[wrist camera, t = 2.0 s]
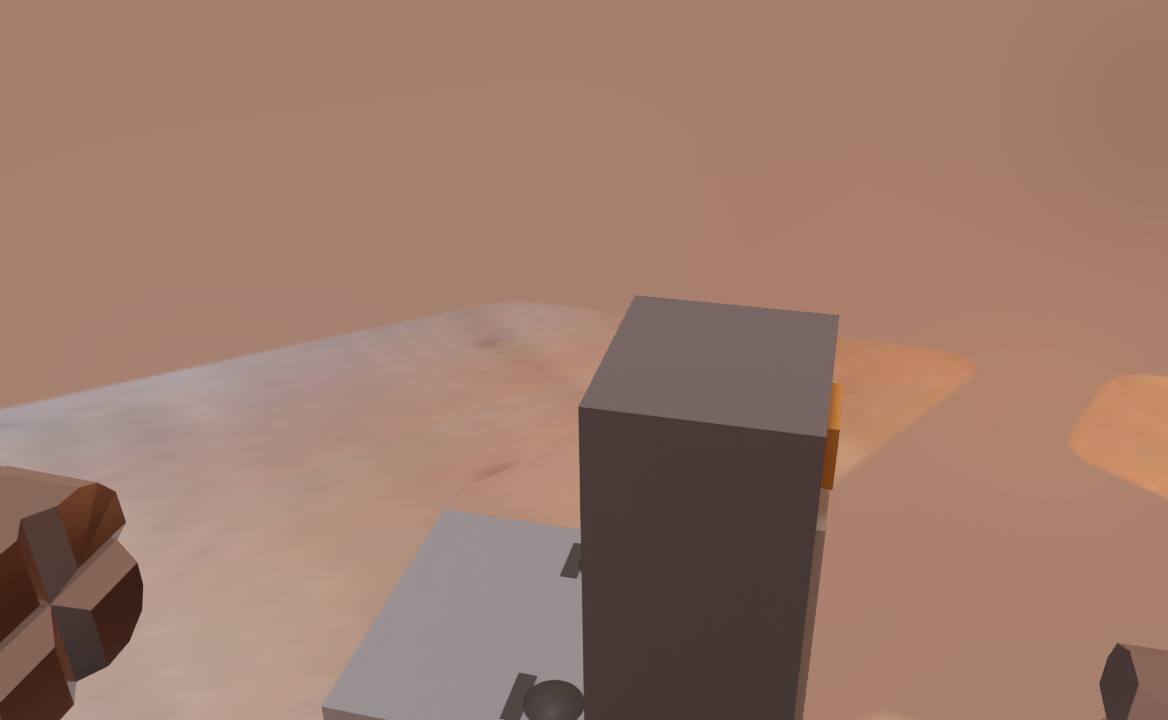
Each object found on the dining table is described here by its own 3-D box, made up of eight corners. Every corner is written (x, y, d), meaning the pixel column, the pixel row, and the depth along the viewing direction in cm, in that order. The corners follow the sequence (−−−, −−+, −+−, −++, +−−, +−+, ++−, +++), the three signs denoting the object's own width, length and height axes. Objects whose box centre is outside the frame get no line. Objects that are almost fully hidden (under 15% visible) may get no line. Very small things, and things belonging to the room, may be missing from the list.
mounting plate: (327, 736, 38) (321, 705, 37) (447, 535, 48) (444, 508, 47) (771, 829, 34) (774, 796, 33) (799, 590, 44) (802, 562, 44)
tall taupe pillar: (589, 1026, 29) (578, 406, 19) (628, 868, 33) (635, 295, 24) (762, 1072, 28) (840, 438, 18) (779, 901, 32) (850, 316, 22)
